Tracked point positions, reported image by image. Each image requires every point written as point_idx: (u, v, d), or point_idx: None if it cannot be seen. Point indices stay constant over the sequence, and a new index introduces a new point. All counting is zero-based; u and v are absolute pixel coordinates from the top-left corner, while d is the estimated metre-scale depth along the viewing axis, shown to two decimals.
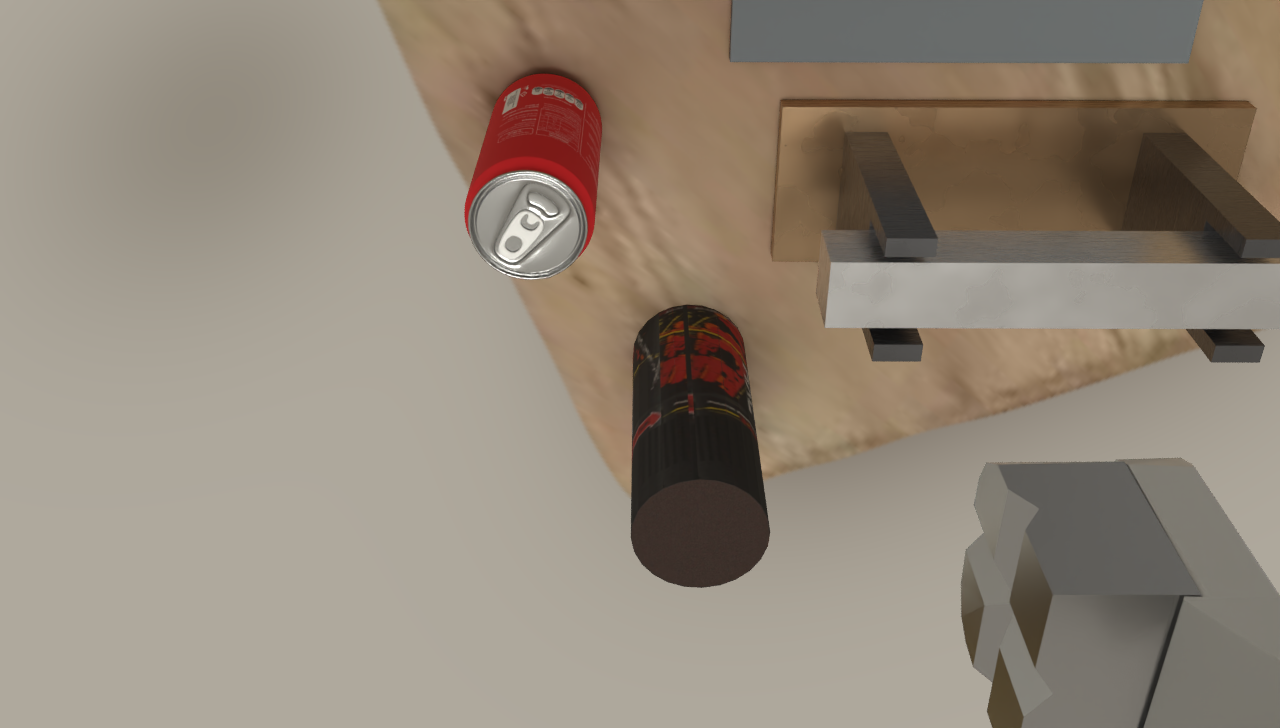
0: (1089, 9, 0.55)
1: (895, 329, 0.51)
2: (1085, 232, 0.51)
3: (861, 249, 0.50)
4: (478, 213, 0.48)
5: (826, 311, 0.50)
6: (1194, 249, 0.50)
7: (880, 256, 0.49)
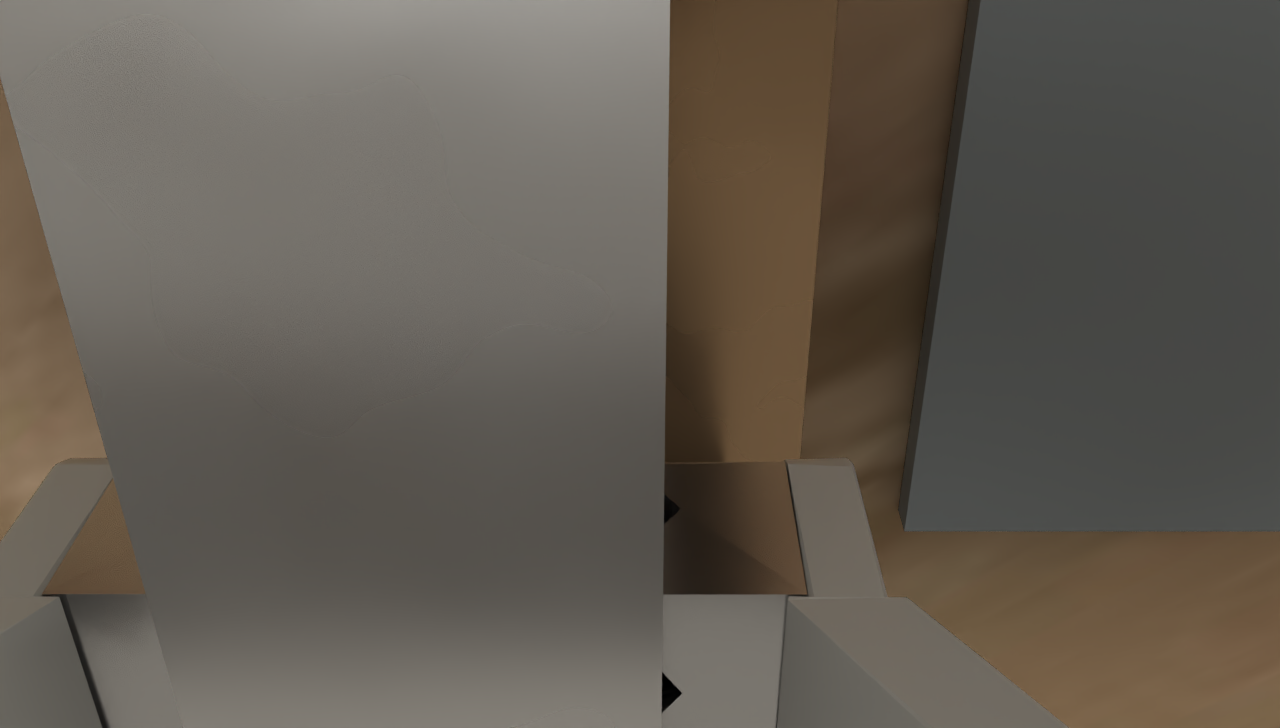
0: (1099, 276, 0.19)
1: None
2: None
3: None
4: None
5: None
6: None
7: None
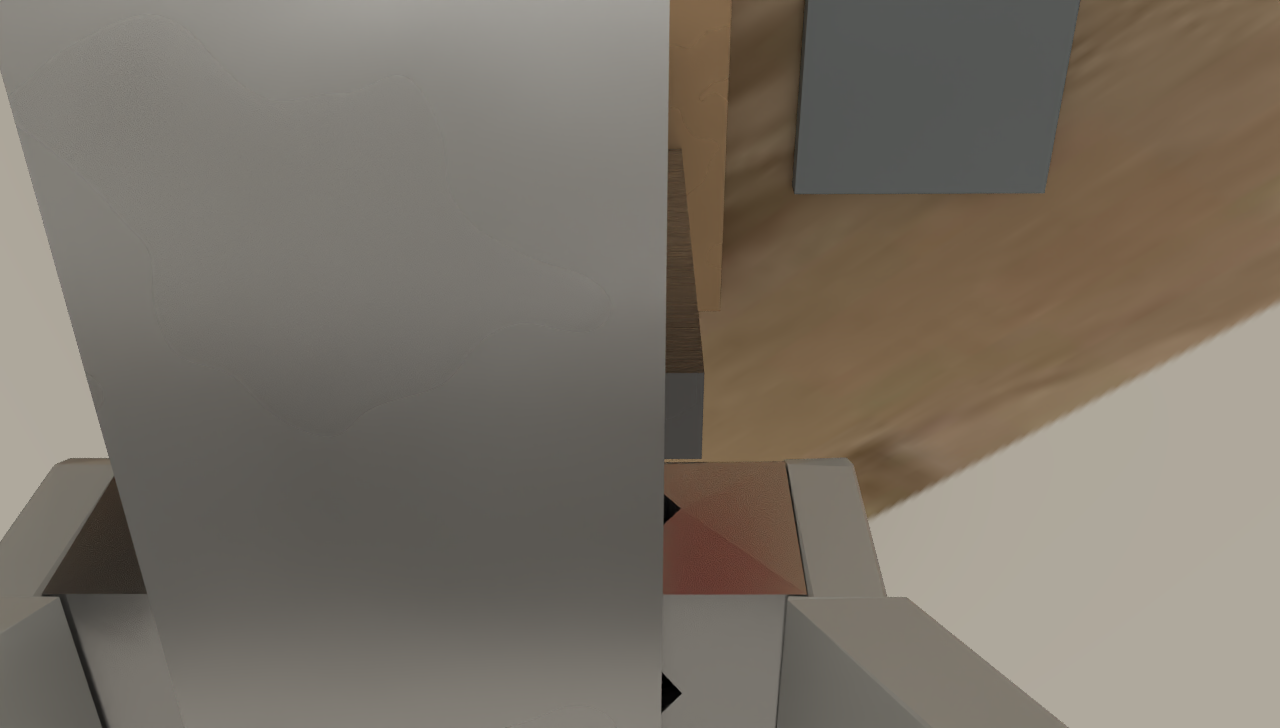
0: (902, 13, 0.32)
1: None
2: None
3: None
4: None
5: None
6: None
7: None
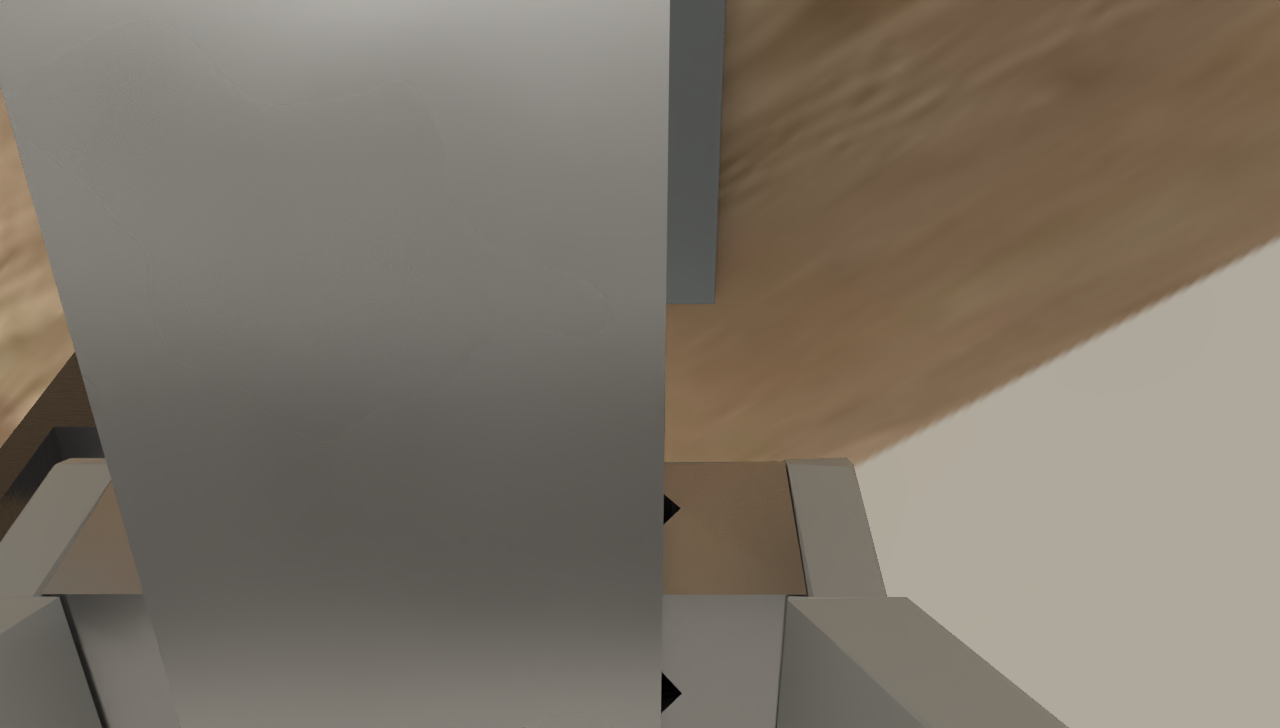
0: None
1: None
2: None
3: None
4: None
5: None
6: None
7: None
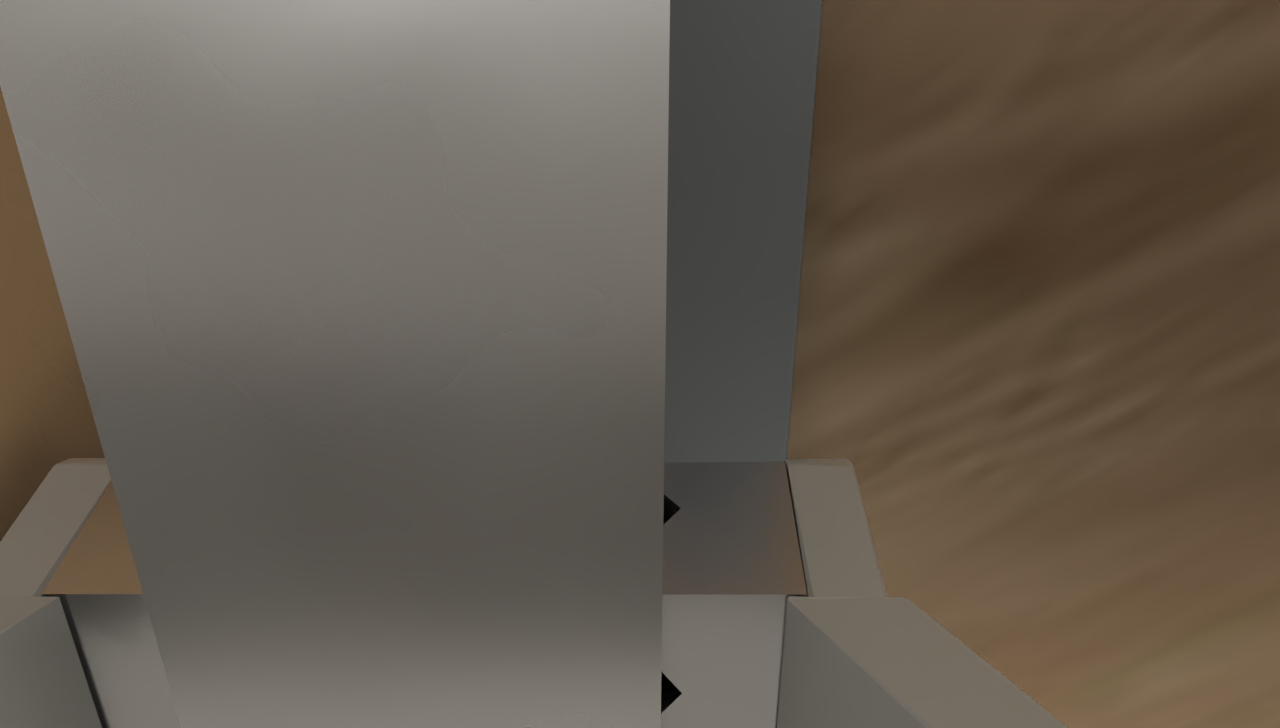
0: None
1: None
2: None
3: None
4: None
5: None
6: None
7: None
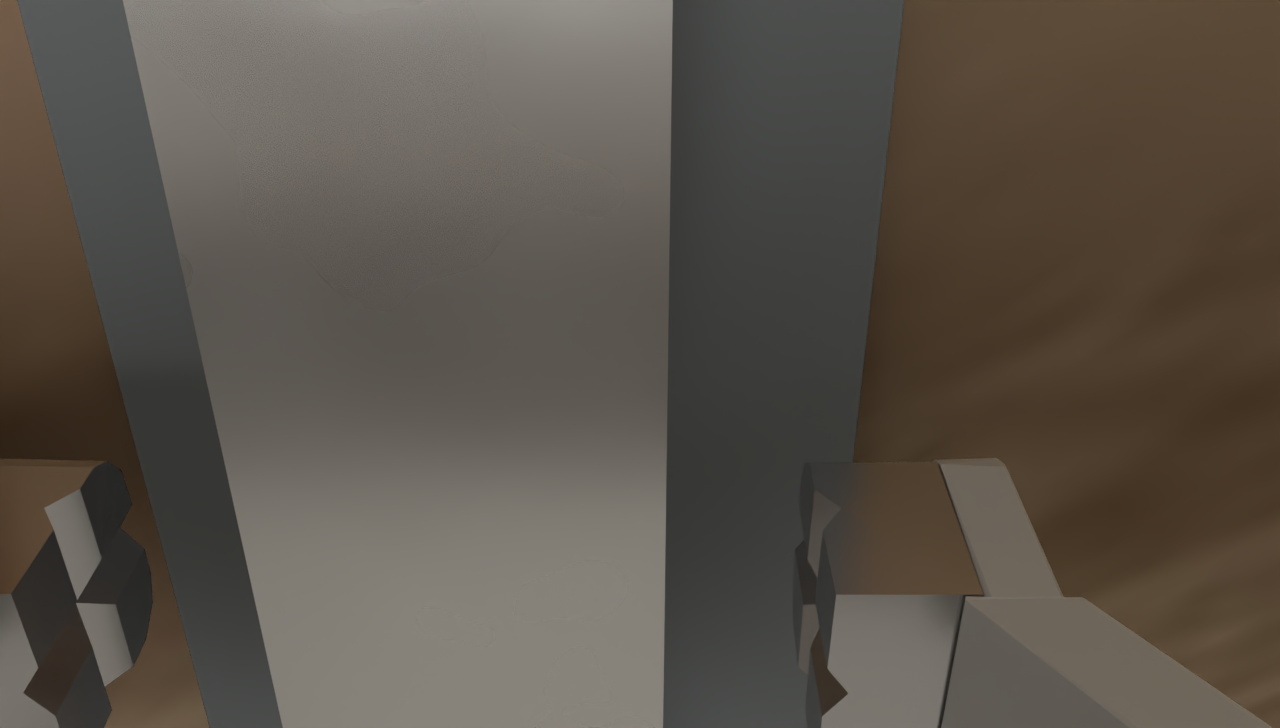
0: None
1: None
2: None
3: None
4: None
5: None
6: None
7: None
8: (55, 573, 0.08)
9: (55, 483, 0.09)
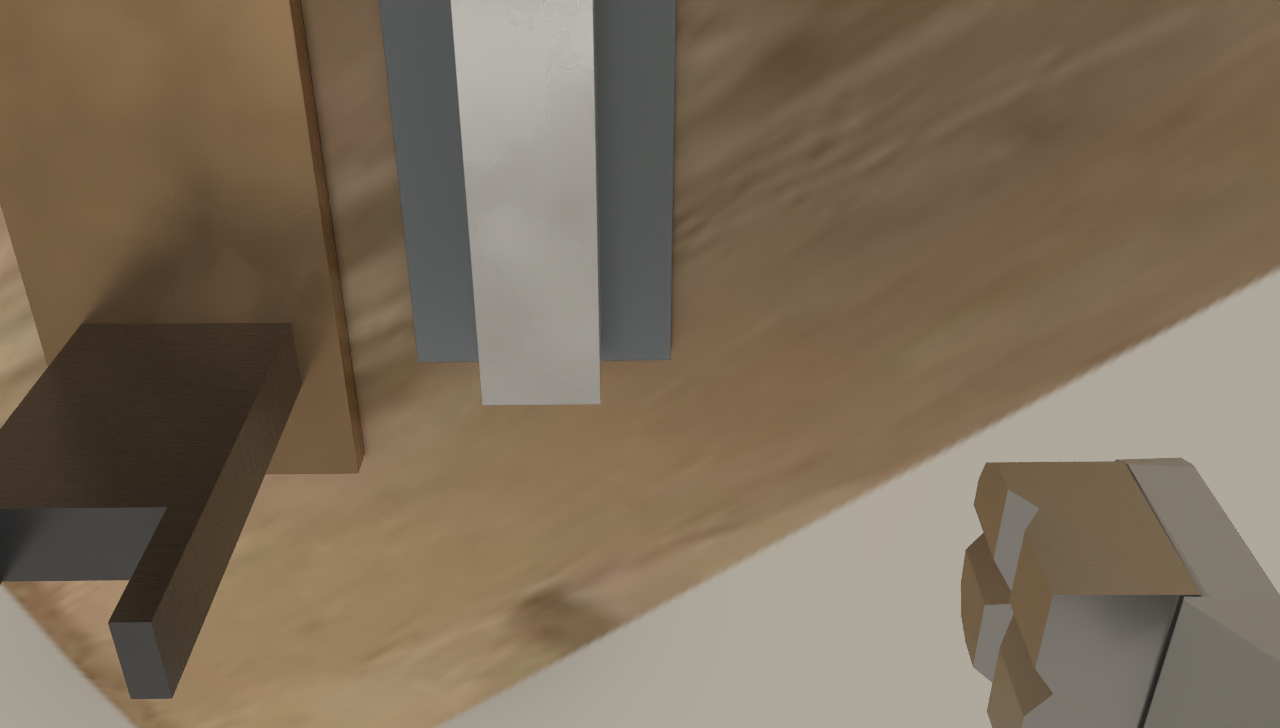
0: None
1: None
2: (595, 20, 0.29)
3: None
4: None
5: None
6: (597, 202, 0.30)
7: None
8: None
9: None
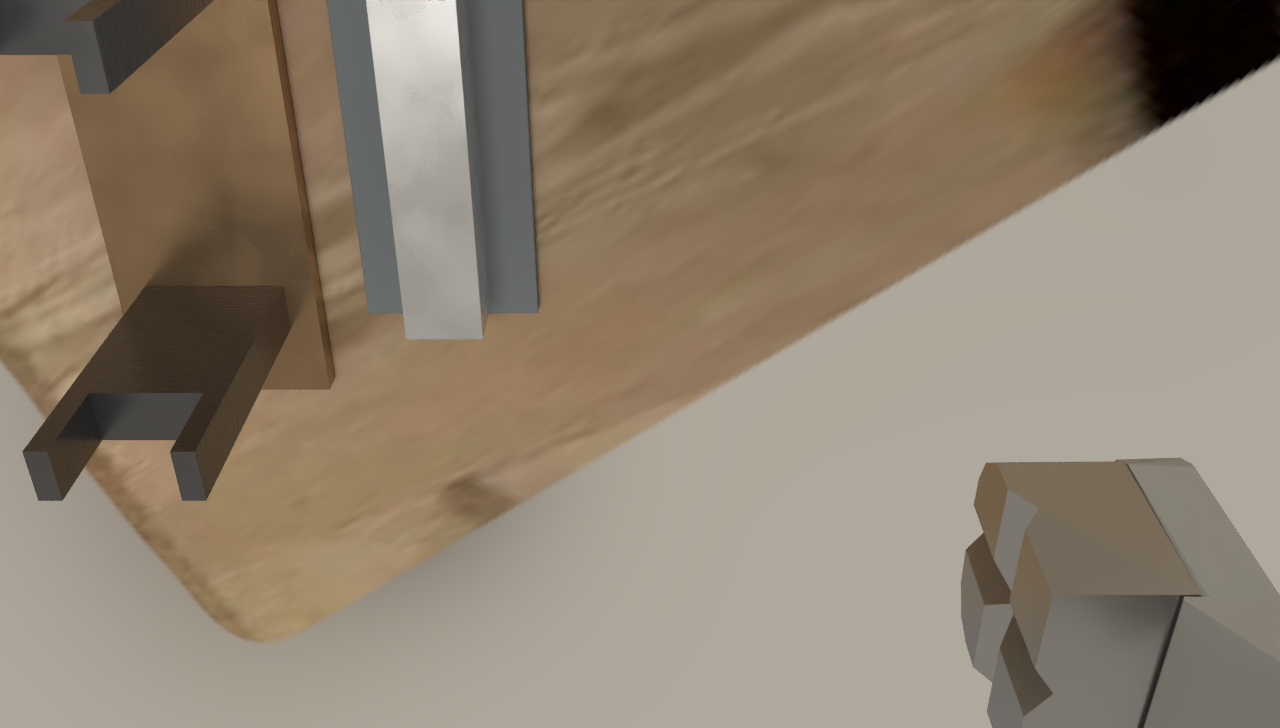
0: None
1: None
2: (474, 92, 0.45)
3: None
4: None
5: None
6: (477, 207, 0.46)
7: None
8: None
9: None
